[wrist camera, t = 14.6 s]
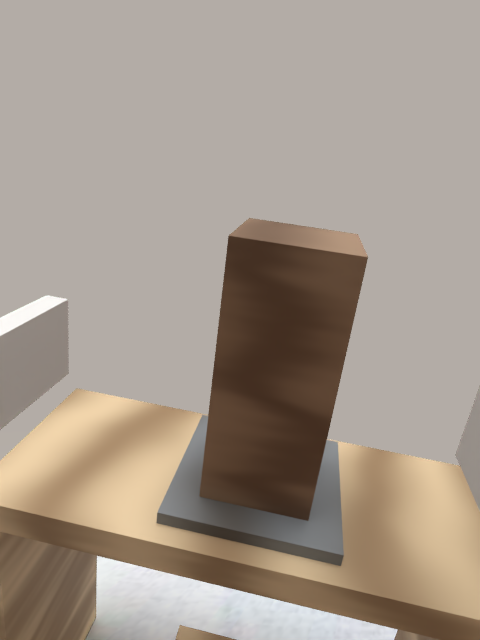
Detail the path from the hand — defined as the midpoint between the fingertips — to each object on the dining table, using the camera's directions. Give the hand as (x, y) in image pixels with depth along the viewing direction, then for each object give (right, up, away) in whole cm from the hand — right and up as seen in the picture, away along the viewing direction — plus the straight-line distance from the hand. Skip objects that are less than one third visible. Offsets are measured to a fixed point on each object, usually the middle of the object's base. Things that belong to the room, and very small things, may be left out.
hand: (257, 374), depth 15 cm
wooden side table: (-2, -25, +16) cm, 30 cm away
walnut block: (0, -6, +8) cm, 10 cm away
